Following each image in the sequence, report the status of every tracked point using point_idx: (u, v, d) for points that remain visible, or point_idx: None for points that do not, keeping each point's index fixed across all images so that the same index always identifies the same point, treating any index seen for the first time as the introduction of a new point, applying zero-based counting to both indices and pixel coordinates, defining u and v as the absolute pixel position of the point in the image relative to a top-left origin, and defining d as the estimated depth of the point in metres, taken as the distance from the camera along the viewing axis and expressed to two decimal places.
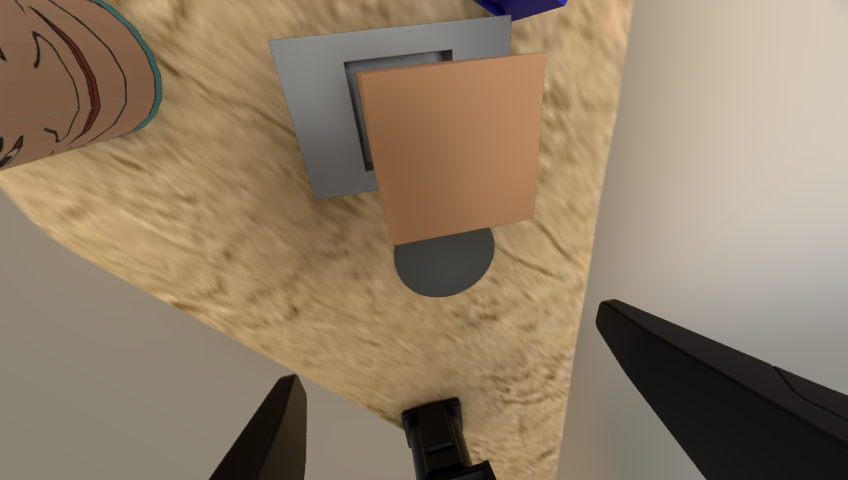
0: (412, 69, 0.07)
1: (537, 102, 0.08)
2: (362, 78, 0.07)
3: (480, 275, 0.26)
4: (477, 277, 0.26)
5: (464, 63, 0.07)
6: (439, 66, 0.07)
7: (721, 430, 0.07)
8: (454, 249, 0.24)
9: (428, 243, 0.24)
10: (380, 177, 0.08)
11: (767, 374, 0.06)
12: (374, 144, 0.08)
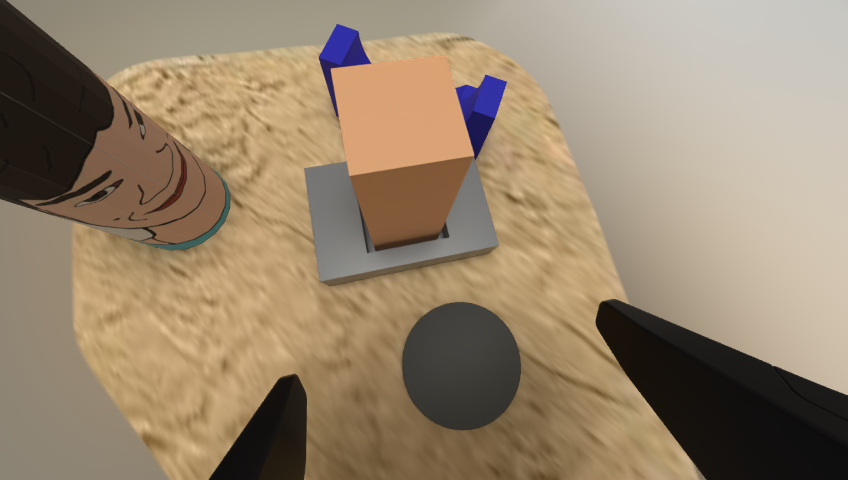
0: (362, 65, 0.12)
1: (449, 79, 0.12)
2: (331, 70, 0.12)
3: (511, 392, 0.21)
4: (509, 396, 0.21)
5: (394, 61, 0.12)
6: (378, 63, 0.12)
7: (721, 430, 0.07)
8: (470, 353, 0.21)
9: (439, 344, 0.21)
10: (341, 123, 0.11)
11: (767, 374, 0.06)
12: (337, 102, 0.12)
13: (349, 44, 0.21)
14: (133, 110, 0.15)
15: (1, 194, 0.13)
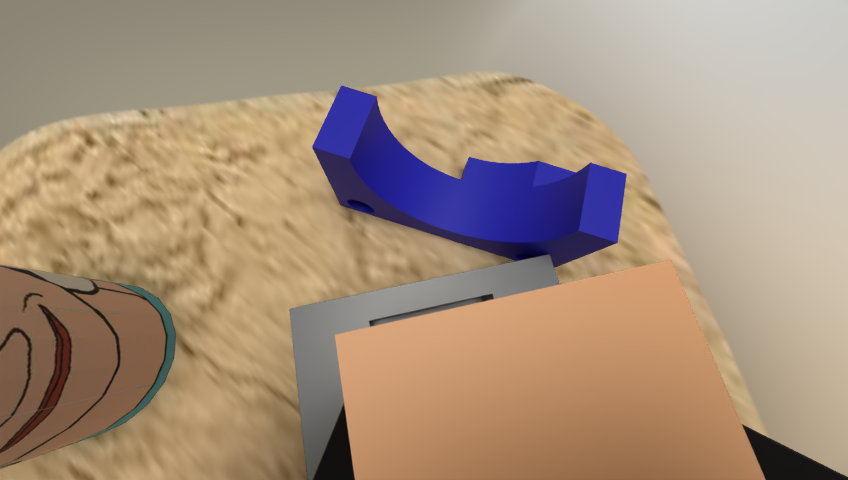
0: (433, 314, 0.04)
1: (697, 347, 0.04)
2: (337, 340, 0.04)
3: None
4: None
5: (528, 293, 0.04)
6: (483, 303, 0.04)
7: None
8: None
9: None
10: None
11: None
12: None
13: (363, 120, 0.12)
14: None
15: None
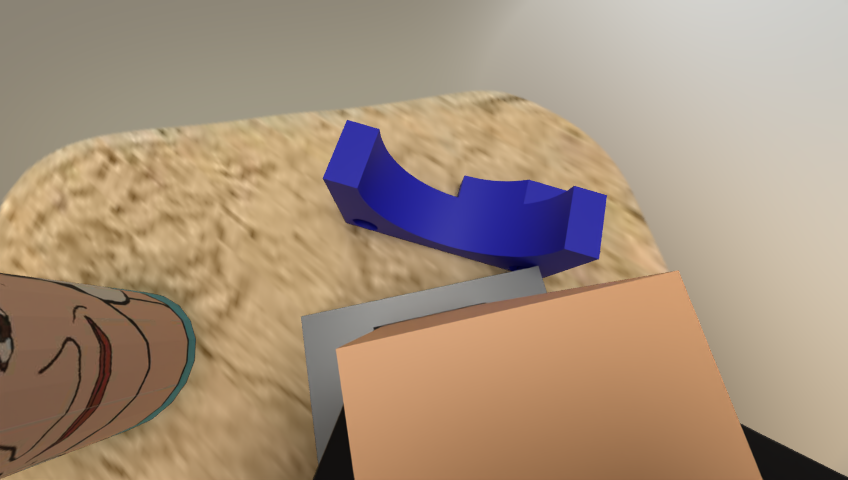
0: (436, 327, 0.04)
1: (703, 360, 0.04)
2: (338, 355, 0.04)
3: None
4: None
5: (533, 306, 0.04)
6: (487, 316, 0.04)
7: None
8: None
9: None
10: None
11: None
12: None
13: (368, 152, 0.14)
14: None
15: None
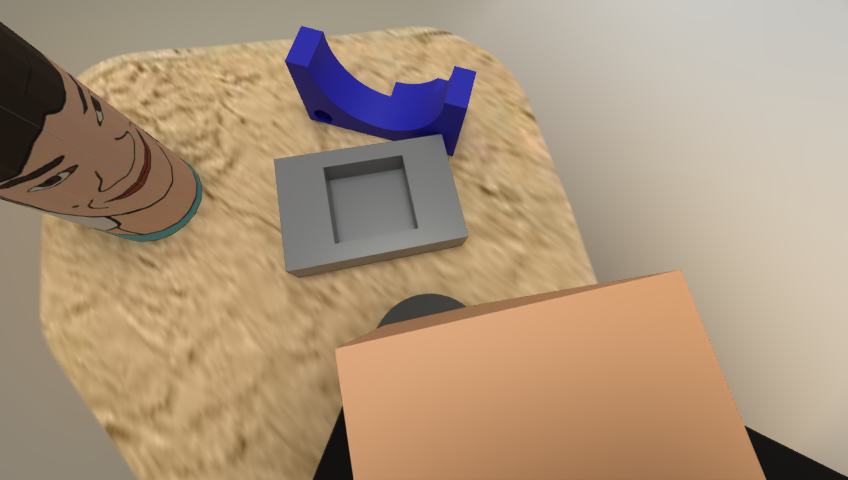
0: (436, 327, 0.04)
1: (706, 360, 0.04)
2: (338, 354, 0.04)
3: None
4: None
5: (534, 305, 0.04)
6: (488, 316, 0.04)
7: None
8: None
9: None
10: None
11: None
12: None
13: (315, 45, 0.20)
14: (90, 96, 0.15)
15: None
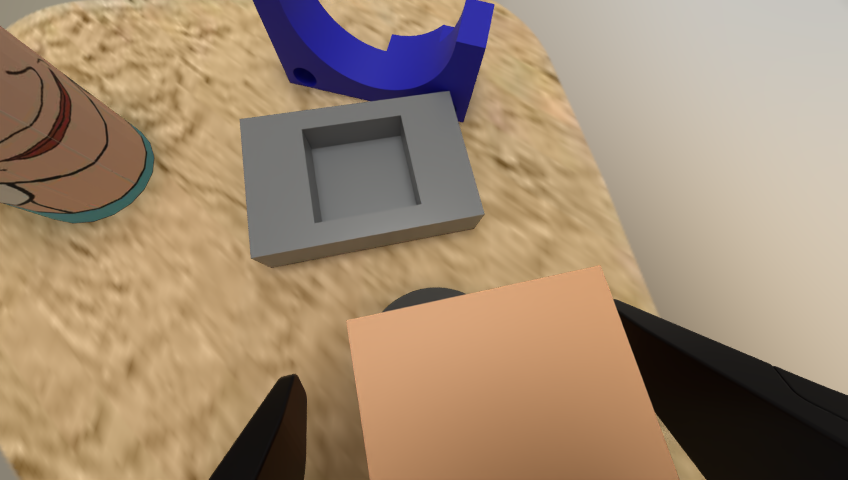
0: (418, 305, 0.05)
1: (616, 330, 0.05)
2: (348, 324, 0.05)
3: None
4: None
5: (490, 290, 0.05)
6: (456, 298, 0.05)
7: (721, 430, 0.07)
8: None
9: None
10: None
11: (767, 374, 0.06)
12: (363, 425, 0.05)
13: None
14: None
15: None
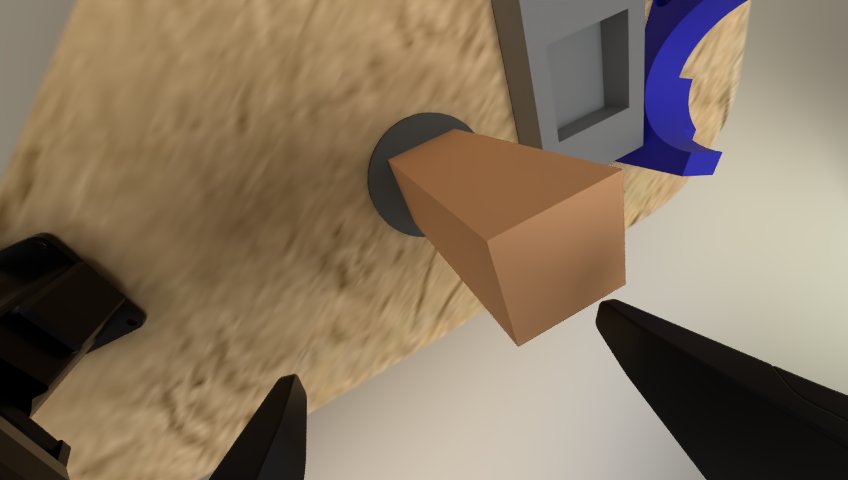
0: (623, 205, 0.10)
1: (599, 296, 0.11)
2: (621, 170, 0.09)
3: (412, 231, 0.21)
4: (408, 230, 0.21)
5: (623, 238, 0.10)
6: (623, 222, 0.10)
7: (721, 430, 0.07)
8: None
9: None
10: (551, 207, 0.09)
11: (767, 374, 0.06)
12: (578, 193, 0.09)
13: None
14: None
15: None
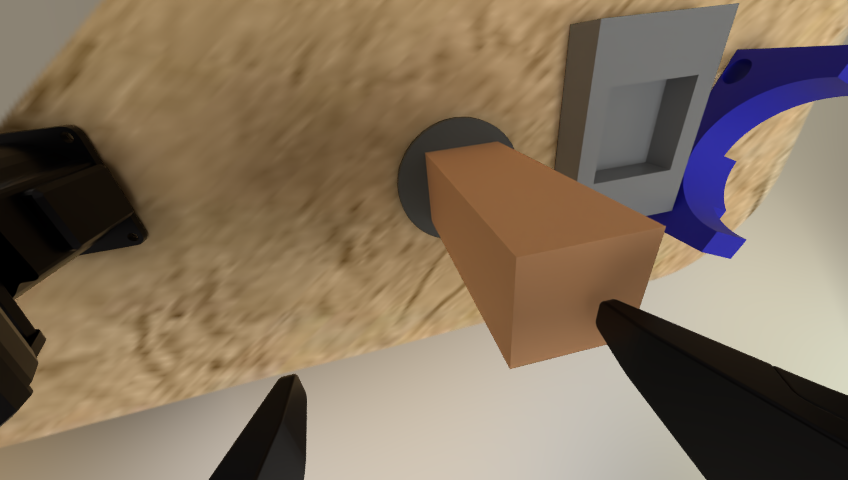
0: (653, 261, 0.10)
1: (601, 342, 0.11)
2: (663, 227, 0.09)
3: (427, 228, 0.21)
4: (424, 226, 0.21)
5: (643, 293, 0.10)
6: (648, 278, 0.10)
7: (721, 430, 0.07)
8: None
9: None
10: (587, 242, 0.09)
11: (767, 374, 0.06)
12: (616, 237, 0.09)
13: None
14: None
15: None
